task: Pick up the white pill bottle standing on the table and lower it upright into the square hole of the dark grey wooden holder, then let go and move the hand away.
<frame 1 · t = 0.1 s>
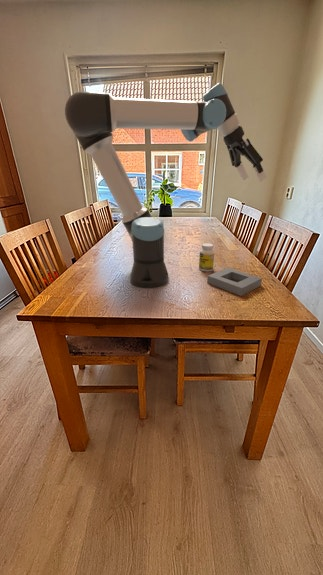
hand: (254, 179, 104), 36 cm above the table, tool tilted 35°, fingers open, 13 cm apart
pill bottle: (205, 269, 109), on the table
bottle holder: (233, 284, 94), on the table
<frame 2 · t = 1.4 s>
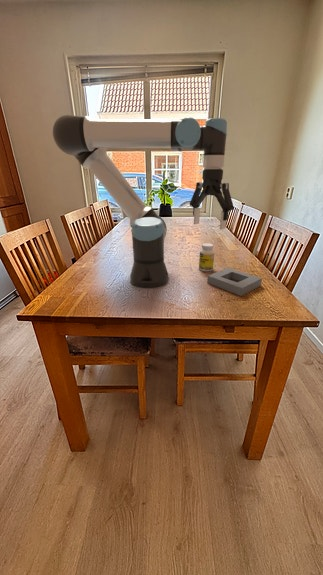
hand: (208, 226, 101), 19 cm above the table, tool pointing down, fingers open, 13 cm apart
nothing on the table moved.
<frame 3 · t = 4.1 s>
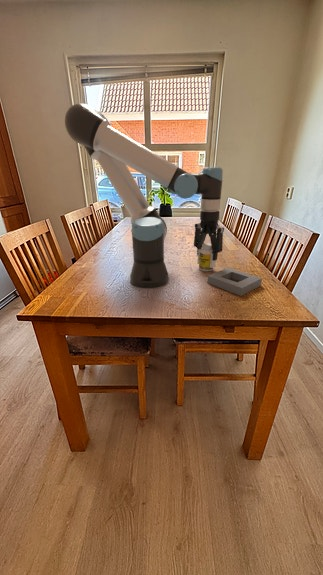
hand: (206, 265, 108), 2 cm above the table, tool pointing down, fingers closed on pill bottle, 6 cm apart
pill bottle: (205, 269, 109), on the table, touching gripper
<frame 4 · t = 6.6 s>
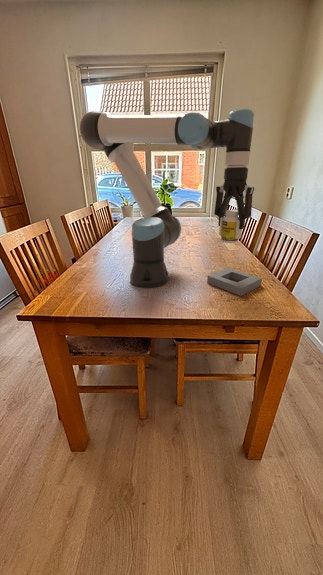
hand: (229, 236, 92), 17 cm above the table, tool pointing down, fingers closed on pill bottle, 6 cm apart
pill bottle: (229, 242, 93), point 15 cm above the table, touching gripper
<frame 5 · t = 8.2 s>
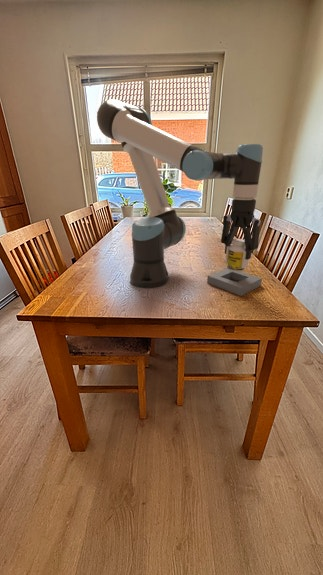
hand: (236, 264, 91), 8 cm above the table, tool pointing down, fingers closed on pill bottle, 6 cm apart
pill bottle: (235, 270, 92), point 6 cm above the table, touching gripper
when the fingers open (5 cm above the table, at t = 9.3 s): pill bottle drops 3 cm, resting in bottle holder.
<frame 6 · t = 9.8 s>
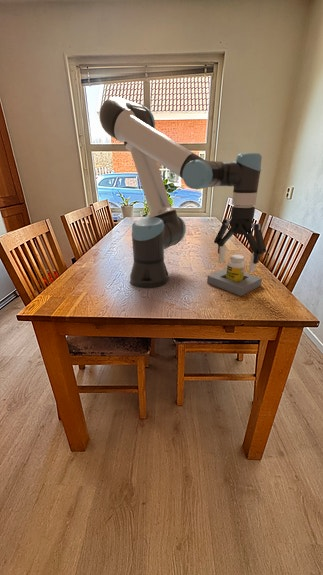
hand: (235, 266, 91), 7 cm above the table, tool pointing down, fingers open, 12 cm apart
pill bottle: (233, 284, 95), resting in bottle holder
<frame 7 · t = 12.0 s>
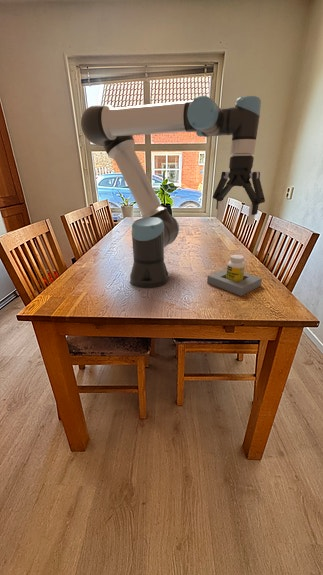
hand: (234, 221, 91), 22 cm above the table, tool pointing down, fingers open, 13 cm apart
nothing on the table moved.
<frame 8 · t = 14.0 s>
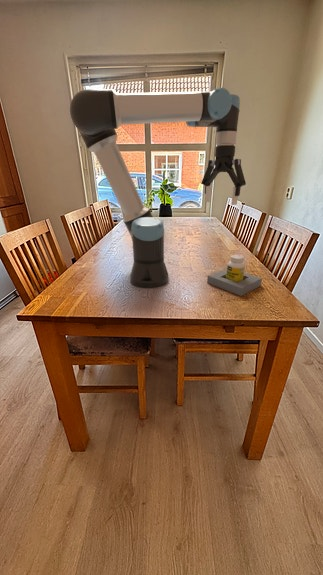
hand: (220, 203, 105), 27 cm above the table, tool pointing down, fingers open, 13 cm apart
nothing on the table moved.
at the end: pill bottle 0.0 cm off-centre on the bottle holder, point 0.0 cm above the bottle holder's base; pill bottle tilted 0°; the gripper is holding nothing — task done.
